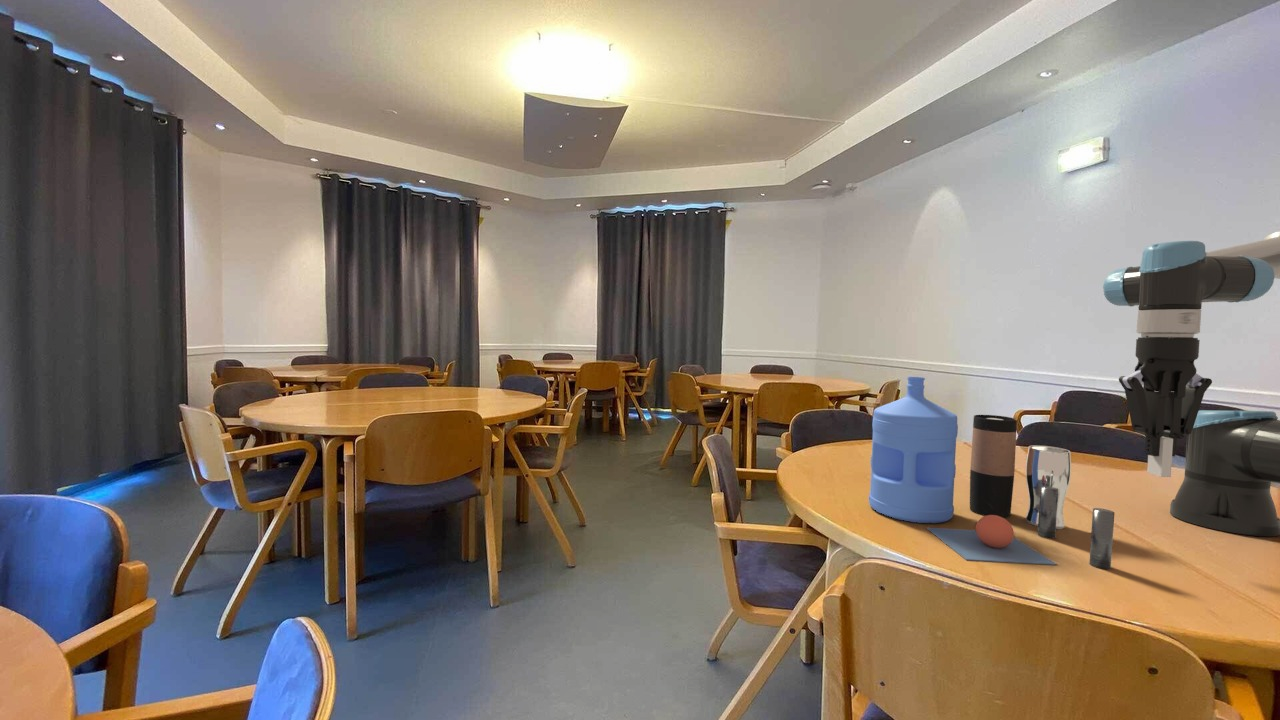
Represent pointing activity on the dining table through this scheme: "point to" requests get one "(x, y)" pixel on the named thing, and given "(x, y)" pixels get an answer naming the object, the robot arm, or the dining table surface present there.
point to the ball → (994, 531)
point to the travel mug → (992, 465)
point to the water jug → (913, 458)
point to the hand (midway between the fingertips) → (1158, 474)
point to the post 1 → (1047, 512)
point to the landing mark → (988, 548)
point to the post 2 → (1101, 538)
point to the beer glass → (1047, 478)
